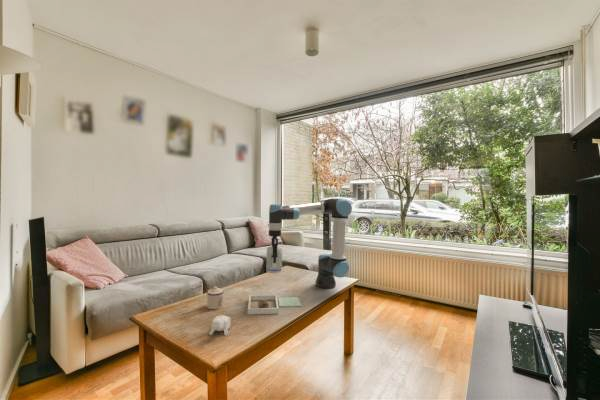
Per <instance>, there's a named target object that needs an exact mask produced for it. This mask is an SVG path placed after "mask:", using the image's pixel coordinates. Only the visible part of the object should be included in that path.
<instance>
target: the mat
mask: <svg viewBox="0 0 600 400" xmlns="http://www.w3.org/2000/svg"><path fill="white" fill-rule="evenodd" d="M277 300H278V307H279V308H289V307H291V308H292V307H295V308H297V307H302V303H301V301H300V298H299V297H277Z"/></svg>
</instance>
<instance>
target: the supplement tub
mask: <svg viewBox="0 0 600 400" xmlns="http://www.w3.org/2000/svg"><path fill="white" fill-rule="evenodd" d="M271 256H273V247H272V246H269V247H267V248H266V265H265V267H266V268H265V269H266V272H267V273H269V274H279V273H281V272H282V271H283V270H282V267H283V247H280V246H277V268H272V258H271Z"/></svg>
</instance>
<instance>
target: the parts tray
mask: <svg viewBox="0 0 600 400" xmlns="http://www.w3.org/2000/svg"><path fill="white" fill-rule="evenodd" d="M264 300H267V301H275V307H268V308H258V307H256V308H255V307H253V308H251V303H252V301H264ZM247 305H248V306H247V315H250V316H251V315H275V314H276V315H278V314H279V311H280V309H279V308H280V307H279V301H278V294H249V297H248V304H247Z"/></svg>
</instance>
